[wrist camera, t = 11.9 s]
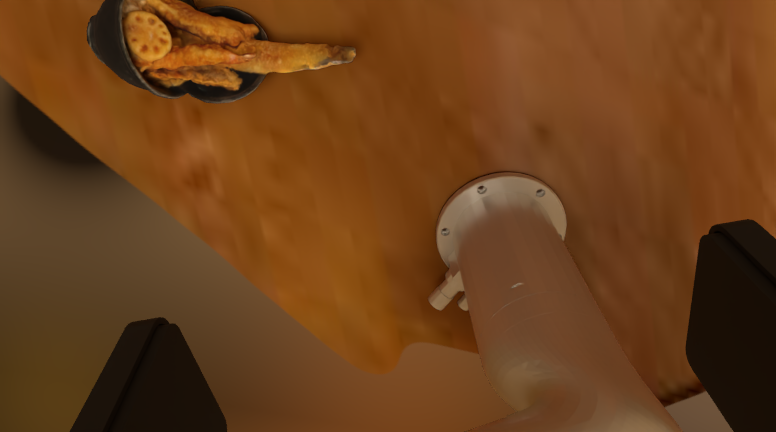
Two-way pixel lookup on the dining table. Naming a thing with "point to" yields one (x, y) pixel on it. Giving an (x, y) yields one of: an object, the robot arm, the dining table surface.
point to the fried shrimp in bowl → (196, 49)
